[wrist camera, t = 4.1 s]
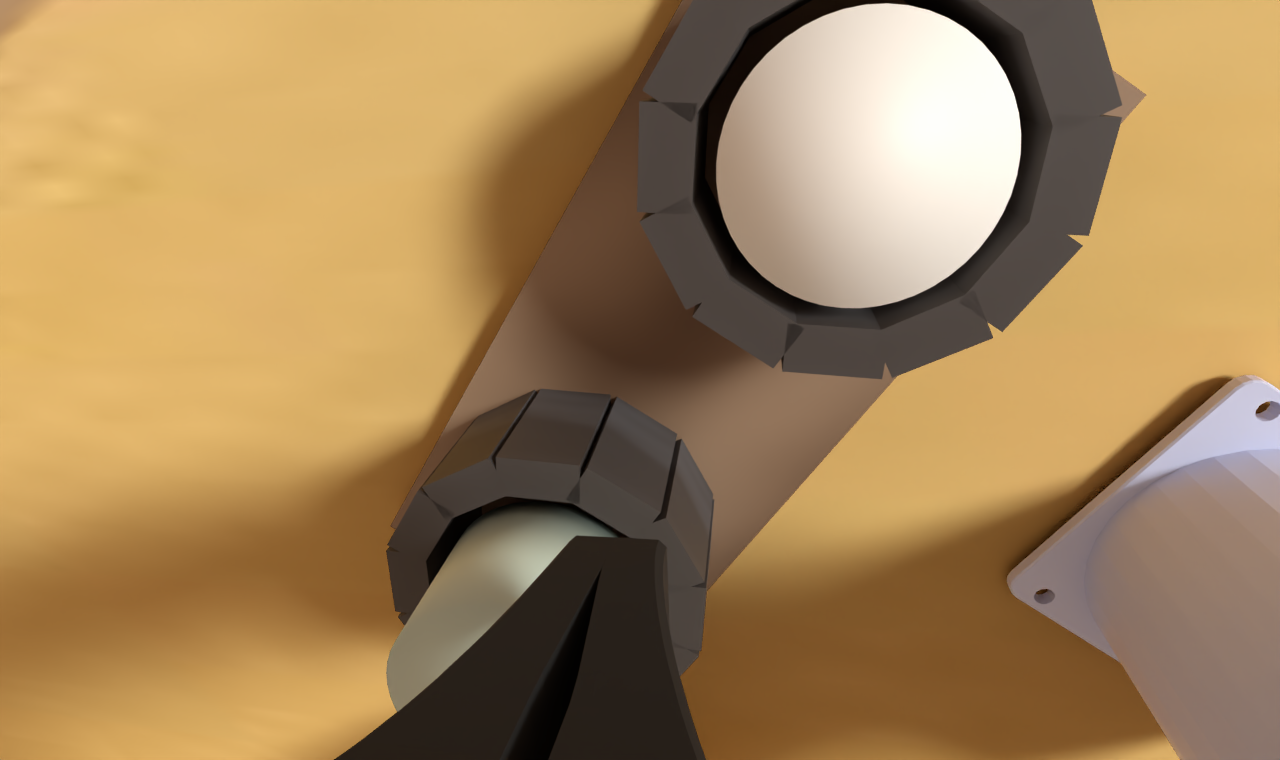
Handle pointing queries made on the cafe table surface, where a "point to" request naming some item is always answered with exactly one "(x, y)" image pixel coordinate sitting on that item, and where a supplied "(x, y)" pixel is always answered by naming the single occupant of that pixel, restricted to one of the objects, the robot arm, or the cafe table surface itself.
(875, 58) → the peg cream
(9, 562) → the cafe table surface
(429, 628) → the peg sage
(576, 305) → the collar board
